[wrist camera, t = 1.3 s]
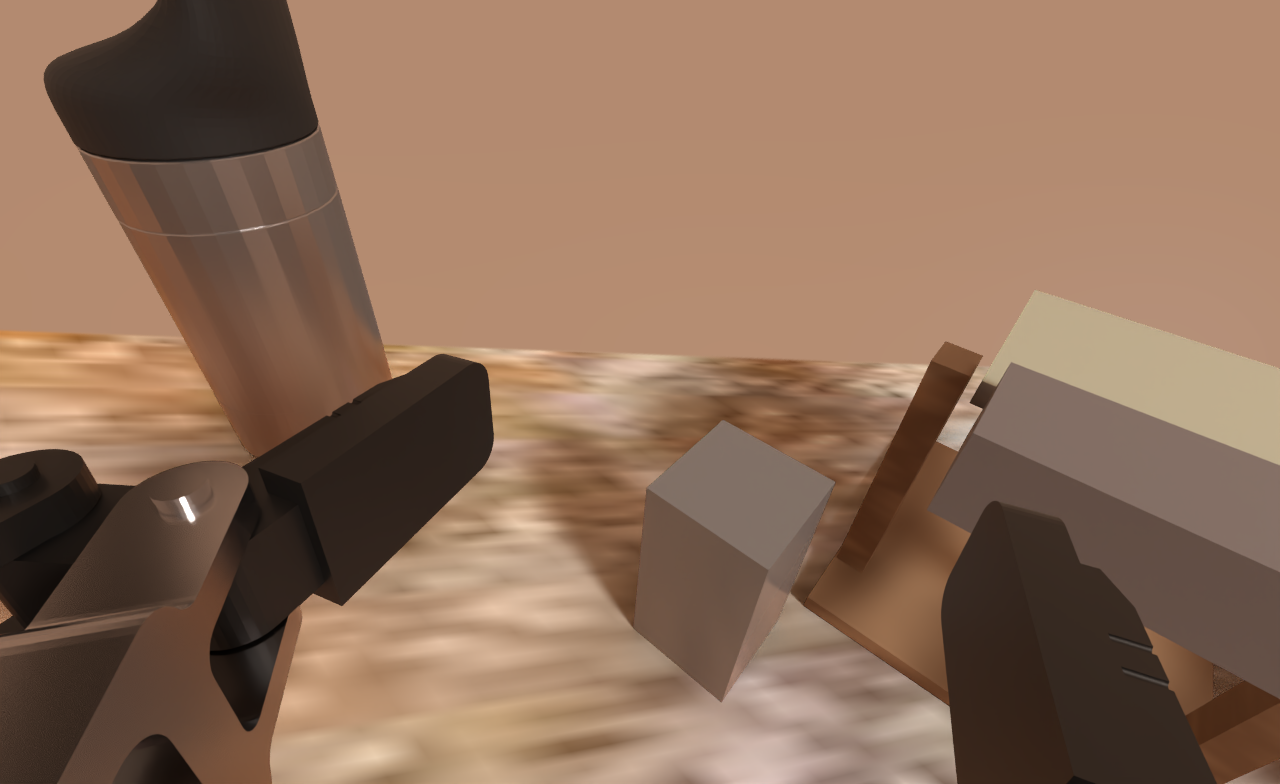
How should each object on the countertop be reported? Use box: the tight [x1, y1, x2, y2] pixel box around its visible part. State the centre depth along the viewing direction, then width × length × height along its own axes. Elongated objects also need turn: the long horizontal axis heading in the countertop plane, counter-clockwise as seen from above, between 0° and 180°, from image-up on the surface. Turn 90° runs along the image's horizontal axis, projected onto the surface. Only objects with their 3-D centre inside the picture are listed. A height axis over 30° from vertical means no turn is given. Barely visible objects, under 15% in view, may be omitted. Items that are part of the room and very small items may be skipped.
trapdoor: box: [927, 290, 1280, 699], centre depth 20 cm, size 12×15×4 cm
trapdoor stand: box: [804, 342, 1280, 784], centre depth 24 cm, size 16×16×14 cm
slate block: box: [633, 420, 835, 702], centre depth 23 cm, size 5×5×10 cm
